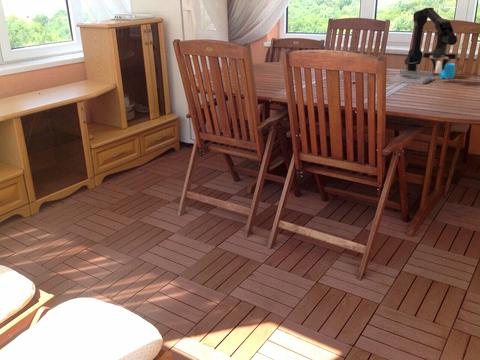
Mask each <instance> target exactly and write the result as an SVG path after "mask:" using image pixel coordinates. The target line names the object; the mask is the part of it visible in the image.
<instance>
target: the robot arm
mask: <svg viewBox="0 0 480 360" xmlns="http://www.w3.org/2000/svg"><path fill="white" fill-rule="evenodd" d="M412 18H413V19H412V20H413V24H414V31H413V38H412V39H413V40H412V45H411V49H410V50H408V55H407V56H406V58H405V59H404V65H406V67H407V68H406V70H407V71H417V69H418V68H417V67H418V65H421V62H422V59H423V58H424V59H425V58H426V59H428V58H429V60H430V61H431V62H432V64H433V69H434V70H435V68H436V61H438V59H440V58H443V60H442V61H443V66H442V71H443V70H444V68H445V66H446V64H447V63H448V62H449V61H450V60H456V59H458V58H459V54H458V52H450V53H447V48H448V45H449V46H454V45H456V43H457V42H458V37H457V36H456V34H455V32H454V29H453V27H452V23H451V21H450V20H448V19H446V18H443V17H442V16H441V15H439V14H438V13H437V12H436V10H435V9H434V8H433V7H431V6H430V7H425V8H422V9H419V10H416V11H414V13H413V17H412ZM428 19H429V20H430V21H431V22H432V23H433V24H434V28H435V29H436V31H437V32H436V33H435V35H436V44H435V47H434V49H433V50H432V51H425V52H424V53H423V52H422V50H421V46H422V45H421V44H422V40H423V39H422V37H423V32H424V26H425V25H426V24H427V22H428Z"/></svg>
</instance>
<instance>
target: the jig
mask: <svg viewBox="0 0 480 360" xmlns="http://www.w3.org/2000/svg"><path fill="white" fill-rule="evenodd" d="M433 73H434V72H433V71H432V72H431V71H419V70H416V71H407V69H406V70H405V69H400V70H399V73H398V74H396V75H393V76H391V77H390V83H391V82H392V83H403V84H405V83H406V84H413V85H424V84H426V83H429V82H431V81H432V80H433Z"/></svg>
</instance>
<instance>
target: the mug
mask: <svg viewBox="0 0 480 360" xmlns="http://www.w3.org/2000/svg"><path fill="white" fill-rule="evenodd" d="M455 70H456V63H452V62H451V63H450V62H449V63H448V62H447V64H446V66H445V68H444V70H443V71H442V73H438V75H439V78H441V79H444V78H451V79H454V78H455V72H456V71H455Z"/></svg>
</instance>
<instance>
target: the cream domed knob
mask: <svg viewBox="0 0 480 360" xmlns="http://www.w3.org/2000/svg"><path fill="white" fill-rule="evenodd" d="M442 66H443V60H439V59H437V61H436V68H435V69H434V73H435V74H439V73H442Z"/></svg>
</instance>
